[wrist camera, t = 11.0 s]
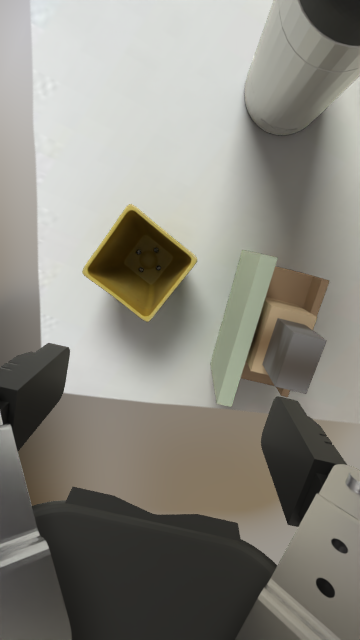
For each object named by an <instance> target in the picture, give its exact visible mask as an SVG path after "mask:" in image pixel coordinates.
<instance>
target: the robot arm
mask: <svg viewBox="0 0 360 640" xmlns="http://www.w3.org/2000/svg"><path fill="white" fill-rule="evenodd" d="M359 76H360V0H273V3H272V6H271V9H270V12H269V15H268V18H267V20H266V23H265V26H264V29H263V32H262V35H261V38H260V40H259V43H258V46H257V49H256V52H255V54H254V57H253V60H252V63H251V66H250V69H249V72H248V75H247V79H246V83H245V93H244V94H245V103H246V106H247V109H248V112H249V114H250V116H251V118H252V120H253V121H254V122H255V123H256V124H257V125H258V126H259V127H260V128H261V129H263V130H264V131H266V132H269V133H271V134H275V135H290V134H293V133H296V132H299V131H300V130H302V129H304V128H305V127H307V126H308V125H309V124H310V123H311V122H312V121H313V120H315V119H316V118H317V117H318V116H319V115H320V114H321V113H322V112H323V111H324V110H325V109H326V108H327V107H328V106H329V105H330V104H331V103H332V102H333V101H334V100H335V99H336V98H338V97H339V96H340V95H341V94H342V93H343V92H344V91H345V90H346V89H347V88H348V87H349V86H350V85H351V84H352V83H353V82H354V81H355V80H356V79H357V78H358V77H359ZM69 356H70V349H69V347H65V346H60V345H56V344H52V343H48V344H46V345H45V346H43V347H42V348H41V349H39V350H38V351H36V352H35V353H33V352H28V353H25V354H22V355H18V356H16V357H15V358H13V359H12V360H10V361H9V362H8V363H6V364H4V365H3V366H1V368H0V640H360V470H359V469H357V468H354V467H352V466H349V465H347V464H346V463H345V461H344V460H343V458H342V457H341V455H340V454H339V452H338V451H337V450H336V448H335V447H334V445H332V442H331V441H330V439H329V438H328V437H326V436H327V435H326V434H325V432H324V431H323V429H322V428H321V427H320V426H319V425H318V424H317V423H316V422H315V421H314V420H313V419H311V418H310V417H308V416H307V415H306V413H305V412H304V410H303V408H302V407H301V405H300V404H299V402H298V401H295V400H291V399H287V398H282V397H276V398H275V399H274V401H273V403H272V406H271V409H270V412H269V415H268V418H267V421H266V424H265V427H264V429H263V433H262V438H261V446H262V450H263V453H264V456H265V459H266V462H267V465H268V468H269V471H270V474H271V476H272V479H273V483H274V485H275V488H276V491H277V494H278V497H279V500H280V503H281V506H282V509H283V512H284V515H285V518H286V521H287V523H288V525H292V526H297V527H298V529H297V531H296V532H295V534H294V536H293V538H292V540H291V542H290V543H289V545H288V547H287V549H286V551H285V553H284V555H283V556H282V558H281V560H280V562H279V564H278V566H277V565H276V564H275V563H274V562H273V561H272V560H271V559H270V558H268V557H267V556H266V555H265V554H264V553H262V552H261V551H260V550H258V549H257V548H255V547H254V546H252V545H250V544H249V543H247V542H245V541H243V540H241V539H240V535H239V528H238V524H237V523H235V522H230V521H226V520H221V519H216V518H212V517H208V516H203V515H198V514H182V515H156V514H152V513H149V512H147V511H145V510H143V509H141V508H139V507H137V506H134V505H132V504H130V503H128V502H126V501H124V500H122V499H120V498H117V497H115V496H112V495H108V494H103V493H99V492H94V491H90V490H85V489H81V488H76V487H72V489H71V491H70V494H69V496H68V498H67V500H66V501H53V502H47V503H42V504H37V505H34V506H31V502H30V498H29V494H28V490H27V486H26V483H25V478H24V475H23V471H22V467H21V463H20V459H19V456H18V451H19V450H20V448H21V447H22V446H23V445H24V443H25V442H26V441H27V440H28V439H29V437H30V436H31V435H32V434H33V432H34V431H35V430H36V429H37V427H38V426H39V425H40V424H41V423H42V421H43V420H44V419H45V418H46V416H47V415H48V414H49V413H50V412H51V410H52V409H53V408H54V407H55V405H56V404H57V403H58V402H59V400H60V398H61V396H62V394H63V391H64V387H65V382H66V375H67V369H68V362H69Z"/></svg>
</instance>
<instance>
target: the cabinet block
mask: <svg viewBox="0 0 360 640" xmlns="http://www.w3.org/2000/svg"><path fill="white" fill-rule="evenodd" d="M316 320H317V317H316V316H314V315H313V314H311V313H310V312H308V311H306V310H305V309H303V308H301V307H300V306H298V305H296V304H292V303H288V302H284V301H280V300H276V299H271V298H267V297H265V301H264V304H263V307H262V310H261V314H260V317H259V320H258V323H257V326H256V330H255V333H254V336H253V339H252V342H251V346H250V349H249V352H248V355H247V359H246V362H247V364H248V366H249V368H250V370H251V371H253V372H257V373H261V374H266V375H269V377H270V379H271V380H272V382H273V384H274V386H275V387H279V388H283V389H287V390H292V391H296V392H300V393H304V394H306V393H307V391H308V388H309V385H310V383H311V380H312V378H313V375H314V372H315V370H316V367H317V364H318V362H319V359H320V357H321V354H322V351H323V349H324V346H325V344H326V340H325V339H324V338H322V337H321V336H320V335H318V334H317V333H316V332H314V331H313V328H314V325H315V323H316Z"/></svg>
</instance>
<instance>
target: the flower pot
mask: <svg viewBox="0 0 360 640" xmlns="http://www.w3.org/2000/svg"><path fill="white" fill-rule="evenodd" d="M155 248H158V252H155V251H154V249H155ZM137 250H140V251H141V253H140V254H137ZM196 262H197V257H196V256H195V255H194V254H193V253H192V252H190V251H189V250H188V249H186V248H185V247H184V246H183V245H181V244H180V243H179V242H178V241H176V240H175V239H174V238H173V237H172V236H170V235H169V234H168V233H167V232H165V231H164V230H163V229H162V228H161V227H159V226H158V225H157V224H156V223H155V222H153V221H152V220H151V219H150V218H149V217H148V216H146V215H145V214H144V213H143V212H142V211H140V210H139V209H138V208H137V207H135V206H134V205H132V204H129V205H128V206H127V207H126V208H125V209H124V211H123V212H122V214H121V215H120V216H119V218H118V219H117V221H116V222H115V224H114V225H113V227H112V228H111V230H110V231H109V233H108V234H107V235H106V237H105V238H104V240H103V241H102V243H101V244H100V245H99V247H98V248H97V250H96V251H95V252H94V254H93V255H92V256H91V258H90V259H89V261H88V262H87V263H86V265H85V266H84V268H83V271H82V273H83V274H84V276H86V277H87V278H88V279H90V280H91V281H92V282H94V283H95V284H97V285H98V286H99V287H101V288H102V289H103V290H105V291H106V292H108V293H109V294H110V295H112V296H113V297H114V298H116V299H117V300H118V301H120V302H121V303H122V304H123V305H125V306H126V307H127V308H128V309H130V310H131V311H132V312H133V313H135V314H136V315H137V316H138V317H140V318H141V319H142V320H144V321H146V322H149V321H150V320H151V319H152V318H153V317H154V315H155V314H156V313H157V311H158V310H159V309H160V308H161V306H162V305H163V304H164V303H165V301H166V300H167V299H168V297H169V296H170V295H171V294H172V293H173V291H174V290H175V289H176V288H177V286H178V285H179V284H180V282H181V281H182V280H183V279H184V278H185V276H186V275H187V274H188V273H189V271H190V270H191V269H192V268H193V267H194V265H195V264H196ZM157 266H160V267H161V269H160V270H157V269H156V267H157ZM140 268H143V272H140V271H139V269H140Z"/></svg>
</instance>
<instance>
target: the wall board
mask: <svg viewBox="0 0 360 640" xmlns="http://www.w3.org/2000/svg"><path fill="white" fill-rule="evenodd" d="M277 259H278V258H277V257H273V256H269V255H264V254H260V253H255V252H250V251H245V250H242V253H241V256H240V260H239V264H238V267H237V271H236V274H235V278H234V281H233V285H232V289H231V292H230V296H229V299H228V303H227V306H226V310H225V313H224V317H223V321H222V324H221V328H220V331H219V335H218V338H217V342H216V346H215V349H214V353H213V356H212V360H211V363H210V365H211V371H212V377H213V383H214V390H215V396H216V402H217V404H220V405H224V406H228V407H232V404H233V400H234V397H235V394H236V391H237V387H238V384H239V381H240V378H243V379H247V380H251V381H255V382H260V383H264V384H268V385H273V386H274V384H273V382H272V380H271V379H270V377H269V375H266V374H261V373H257V372H253V371H251V370H250V368H249V366H248V364H247V362H246V359H247V355H248V352H249V349H250V346H251V342H252V339H253V336H254V333H255V330H256V326H257V323H258V320H259V317H260V314H261V310H262V307H263V304H264V301H265V297H267V298H271V299H276V300H280V301H284V302H288V303H292V304H296V305H298V306H300V307H301V308H303V309H305V310H306V311H308V312H310V313H311V314H313V315H314V316H316V317H317V314H318V312H319V309H320V306H321V303H322V300H323V298H324V295H325V292H326V289H327V286H328V284H329V281H328V280H325V279H322V278H318V277H315V276H312V275H308V274H305V273H301V272H297V271H293V270H288V269H284V268H280V267H276V266H275V265H276V262H277ZM276 388H277V389H278V391H279V393H280V394H281V396H285V397H288V395H289V392H290V390H287V389H283V388H279V387H276Z"/></svg>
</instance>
